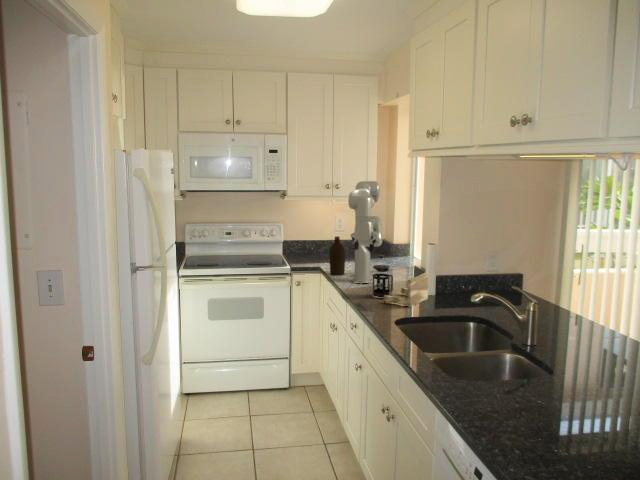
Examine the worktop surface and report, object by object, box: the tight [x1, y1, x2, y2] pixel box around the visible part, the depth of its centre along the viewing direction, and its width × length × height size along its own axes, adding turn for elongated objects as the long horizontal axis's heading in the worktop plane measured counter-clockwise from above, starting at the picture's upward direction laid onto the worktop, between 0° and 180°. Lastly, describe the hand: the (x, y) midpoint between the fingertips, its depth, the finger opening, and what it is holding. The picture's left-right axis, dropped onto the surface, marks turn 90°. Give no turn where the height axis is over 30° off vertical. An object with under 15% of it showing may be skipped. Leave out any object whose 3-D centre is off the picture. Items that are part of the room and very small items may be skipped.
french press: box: [372, 254, 394, 297], centre depth 263 cm, size 12×9×23 cm
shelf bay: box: [383, 272, 429, 306], centre depth 255 cm, size 15×21×14 cm
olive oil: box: [328, 236, 346, 276], centre depth 321 cm, size 11×11×25 cm
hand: (364, 250), depth 268 cm, fingers open, 9 cm apart
